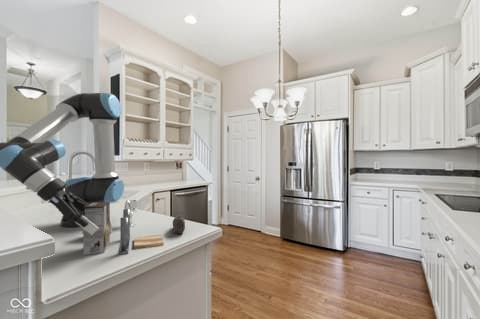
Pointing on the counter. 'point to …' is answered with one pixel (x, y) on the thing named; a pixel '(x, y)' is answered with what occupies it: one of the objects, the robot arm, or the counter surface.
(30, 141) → the robot arm
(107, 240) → the coffee box
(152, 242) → the oak trivet
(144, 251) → the counter surface
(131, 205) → the wineglass
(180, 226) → the perforated stone tool
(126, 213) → the metal drawer handle
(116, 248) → the counter surface
